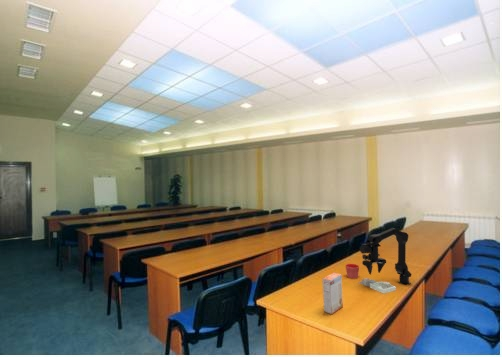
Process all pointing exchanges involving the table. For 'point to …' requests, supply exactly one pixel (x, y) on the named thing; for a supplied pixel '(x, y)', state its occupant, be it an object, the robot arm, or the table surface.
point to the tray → (378, 287)
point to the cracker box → (332, 293)
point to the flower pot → (352, 270)
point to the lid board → (371, 281)
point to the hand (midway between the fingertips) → (374, 273)
